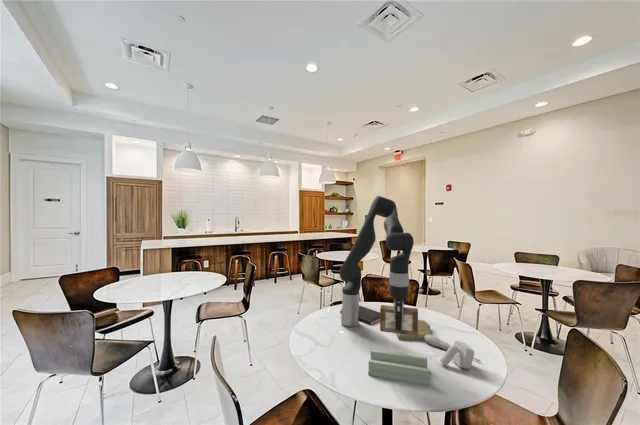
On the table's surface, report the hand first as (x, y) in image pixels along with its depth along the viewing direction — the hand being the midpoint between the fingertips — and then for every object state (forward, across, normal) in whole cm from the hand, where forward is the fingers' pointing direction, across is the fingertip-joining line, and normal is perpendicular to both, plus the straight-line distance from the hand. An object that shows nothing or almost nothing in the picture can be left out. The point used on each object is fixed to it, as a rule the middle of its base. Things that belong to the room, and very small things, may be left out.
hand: (398, 326), depth 108 cm
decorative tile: (+18, +39, -7) cm, 44 cm away
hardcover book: (+18, +53, +21) cm, 60 cm away
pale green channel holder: (+18, 0, 0) cm, 18 cm away
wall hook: (+18, +11, -22) cm, 30 cm away
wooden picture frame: (+2, 0, 0) cm, 2 cm away
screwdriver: (+18, +23, -23) cm, 37 cm away
